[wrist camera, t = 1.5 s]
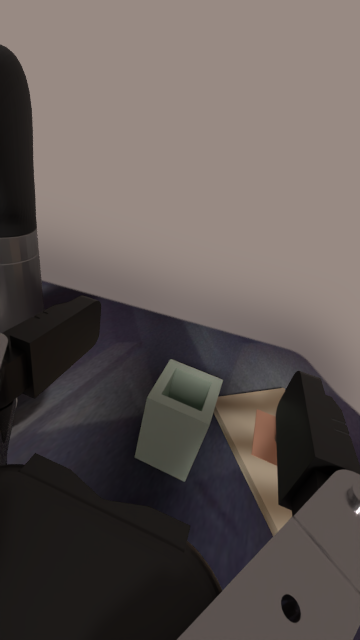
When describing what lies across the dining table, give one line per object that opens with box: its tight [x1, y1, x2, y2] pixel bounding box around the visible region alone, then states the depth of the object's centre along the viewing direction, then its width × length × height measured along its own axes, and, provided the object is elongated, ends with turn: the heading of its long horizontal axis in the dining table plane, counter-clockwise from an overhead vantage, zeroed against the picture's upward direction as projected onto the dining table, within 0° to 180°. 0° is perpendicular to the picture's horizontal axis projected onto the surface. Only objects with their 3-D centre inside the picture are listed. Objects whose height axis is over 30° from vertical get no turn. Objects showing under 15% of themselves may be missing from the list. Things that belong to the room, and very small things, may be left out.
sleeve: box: [135, 359, 223, 482], centre depth 28 cm, size 6×6×10 cm
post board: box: [213, 388, 292, 536], centre depth 33 cm, size 16×13×6 cm
